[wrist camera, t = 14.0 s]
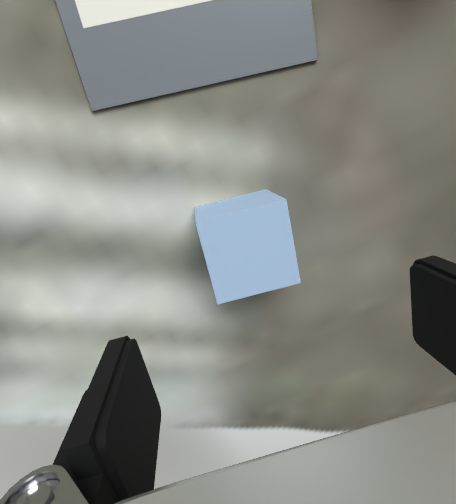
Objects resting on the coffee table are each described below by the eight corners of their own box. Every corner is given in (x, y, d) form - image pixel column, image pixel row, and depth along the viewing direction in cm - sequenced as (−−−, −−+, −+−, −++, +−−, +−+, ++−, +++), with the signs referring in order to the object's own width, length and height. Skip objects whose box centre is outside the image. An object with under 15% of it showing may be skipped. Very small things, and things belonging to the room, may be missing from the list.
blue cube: (265, 189, 22) (286, 199, 17) (278, 256, 23) (300, 282, 19) (194, 206, 22) (195, 222, 17) (212, 273, 23) (217, 304, 18)
